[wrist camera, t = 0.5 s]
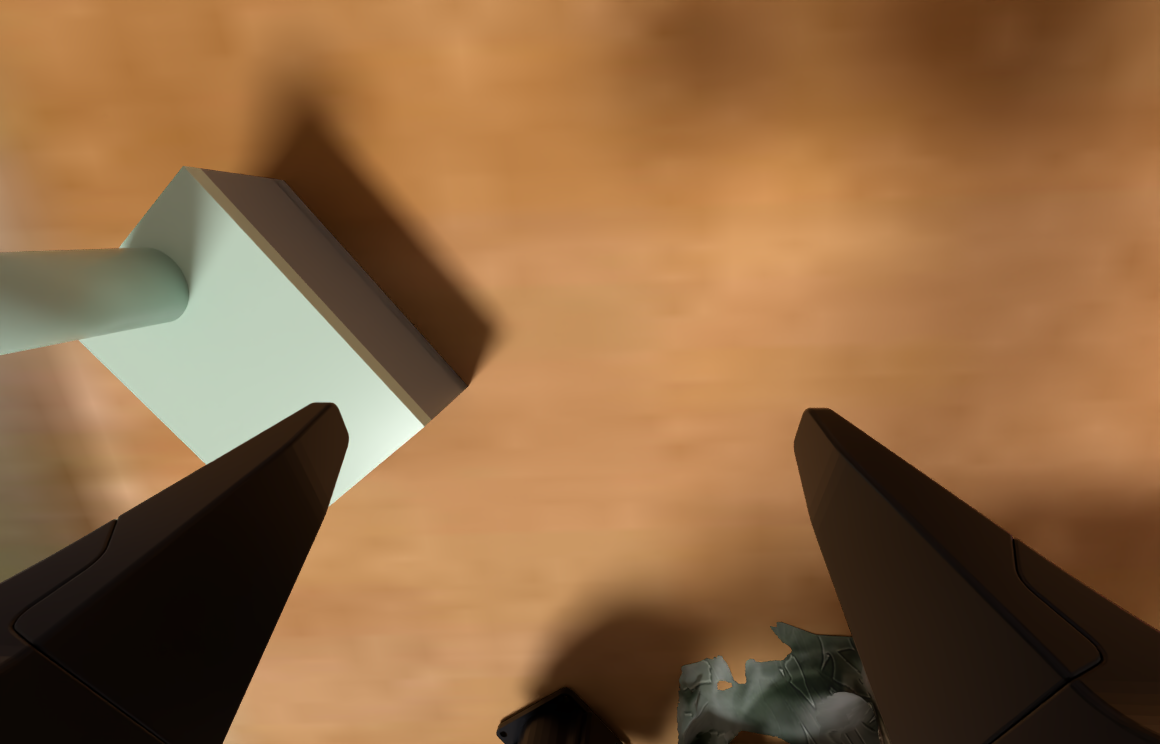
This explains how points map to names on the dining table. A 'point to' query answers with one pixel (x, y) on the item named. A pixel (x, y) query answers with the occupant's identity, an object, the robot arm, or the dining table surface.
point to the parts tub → (343, 287)
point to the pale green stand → (207, 329)
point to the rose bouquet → (784, 696)
